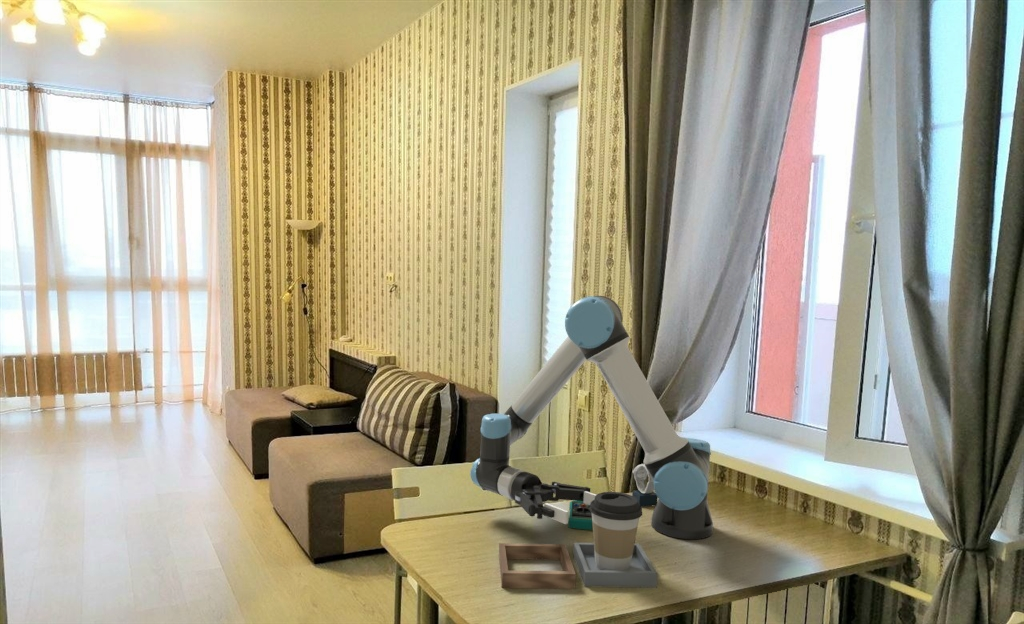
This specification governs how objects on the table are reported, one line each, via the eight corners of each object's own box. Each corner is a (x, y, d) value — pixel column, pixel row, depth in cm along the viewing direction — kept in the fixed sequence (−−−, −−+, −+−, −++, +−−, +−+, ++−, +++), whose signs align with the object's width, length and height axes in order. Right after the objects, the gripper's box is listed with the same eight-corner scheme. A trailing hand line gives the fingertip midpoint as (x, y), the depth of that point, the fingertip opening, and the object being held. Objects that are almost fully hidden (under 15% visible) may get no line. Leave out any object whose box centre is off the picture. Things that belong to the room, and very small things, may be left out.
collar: (564, 557, 153) (565, 544, 153) (574, 588, 138) (575, 574, 138) (498, 556, 152) (499, 543, 152) (501, 587, 137) (502, 573, 137)
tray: (638, 556, 155) (639, 543, 155) (656, 587, 140) (657, 573, 140) (573, 555, 154) (573, 542, 154) (584, 586, 139) (585, 572, 139)
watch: (646, 498, 196) (648, 460, 195) (660, 507, 188) (662, 468, 188) (628, 499, 194) (630, 461, 194) (641, 509, 187) (643, 469, 186)
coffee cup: (614, 551, 155) (618, 487, 154) (650, 571, 146) (654, 503, 145) (575, 561, 149) (578, 494, 148) (609, 583, 139) (613, 511, 138)
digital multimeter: (596, 511, 185) (597, 500, 184) (597, 532, 170) (598, 520, 170) (569, 509, 185) (569, 498, 185) (568, 529, 171) (568, 518, 170)
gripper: (554, 491, 176) (620, 515, 161) (481, 512, 159) (548, 541, 144) (555, 462, 176) (622, 483, 161) (483, 480, 158) (550, 506, 143)
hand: (587, 511), depth 152 cm, fingers open, 13 cm apart
